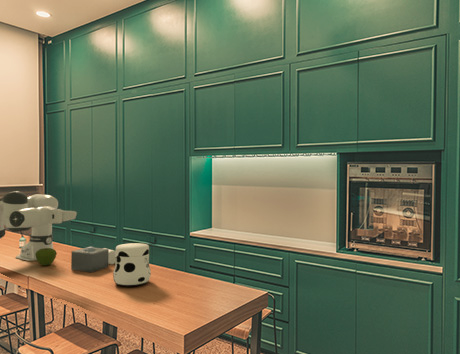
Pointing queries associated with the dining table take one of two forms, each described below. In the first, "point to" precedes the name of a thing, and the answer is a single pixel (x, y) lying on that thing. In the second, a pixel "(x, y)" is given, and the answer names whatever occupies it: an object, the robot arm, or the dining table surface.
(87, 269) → the grey square box
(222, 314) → the dining table surface
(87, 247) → the grey rounded cylinder
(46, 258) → the apple
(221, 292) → the dining table surface
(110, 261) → the mug
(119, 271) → the milk container
